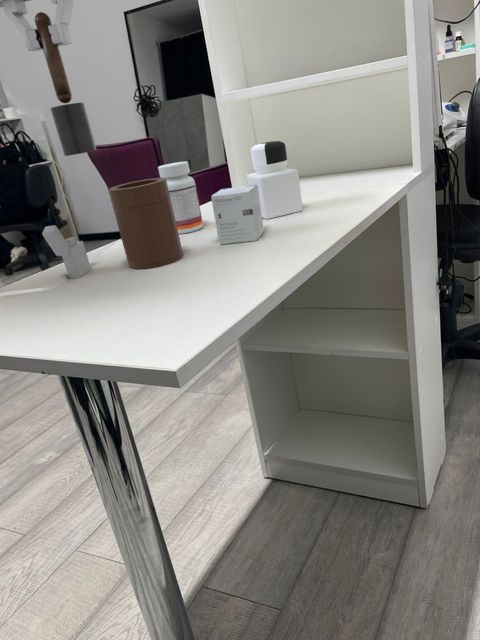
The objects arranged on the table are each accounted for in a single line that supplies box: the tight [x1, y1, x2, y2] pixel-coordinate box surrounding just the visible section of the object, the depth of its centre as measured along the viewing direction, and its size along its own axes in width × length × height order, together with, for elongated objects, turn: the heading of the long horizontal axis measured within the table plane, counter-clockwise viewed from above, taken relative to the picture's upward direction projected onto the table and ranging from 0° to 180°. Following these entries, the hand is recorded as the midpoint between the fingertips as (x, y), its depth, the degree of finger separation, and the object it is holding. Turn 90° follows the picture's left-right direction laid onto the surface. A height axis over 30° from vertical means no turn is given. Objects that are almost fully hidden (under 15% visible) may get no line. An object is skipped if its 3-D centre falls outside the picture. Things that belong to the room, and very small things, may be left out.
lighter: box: [41, 224, 92, 280], centre depth 76 cm, size 7×2×8 cm, turn 172°
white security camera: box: [246, 140, 304, 220], centre depth 95 cm, size 7×7×12 cm
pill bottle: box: [157, 161, 204, 235], centre depth 94 cm, size 6×6×11 cm
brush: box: [34, 11, 97, 157], centre depth 58 cm, size 4×4×14 cm
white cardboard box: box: [210, 185, 265, 245], centre depth 82 cm, size 6×6×7 cm
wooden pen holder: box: [107, 177, 184, 270], centre depth 77 cm, size 8×8×11 cm
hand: (50, 47), depth 57 cm, fingers closed on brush
